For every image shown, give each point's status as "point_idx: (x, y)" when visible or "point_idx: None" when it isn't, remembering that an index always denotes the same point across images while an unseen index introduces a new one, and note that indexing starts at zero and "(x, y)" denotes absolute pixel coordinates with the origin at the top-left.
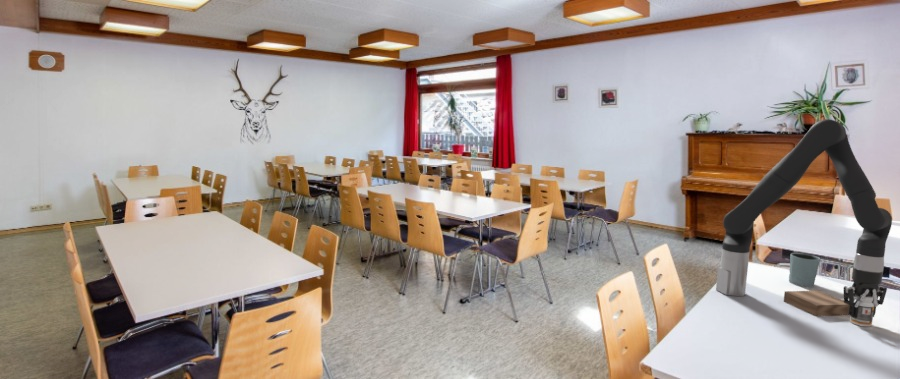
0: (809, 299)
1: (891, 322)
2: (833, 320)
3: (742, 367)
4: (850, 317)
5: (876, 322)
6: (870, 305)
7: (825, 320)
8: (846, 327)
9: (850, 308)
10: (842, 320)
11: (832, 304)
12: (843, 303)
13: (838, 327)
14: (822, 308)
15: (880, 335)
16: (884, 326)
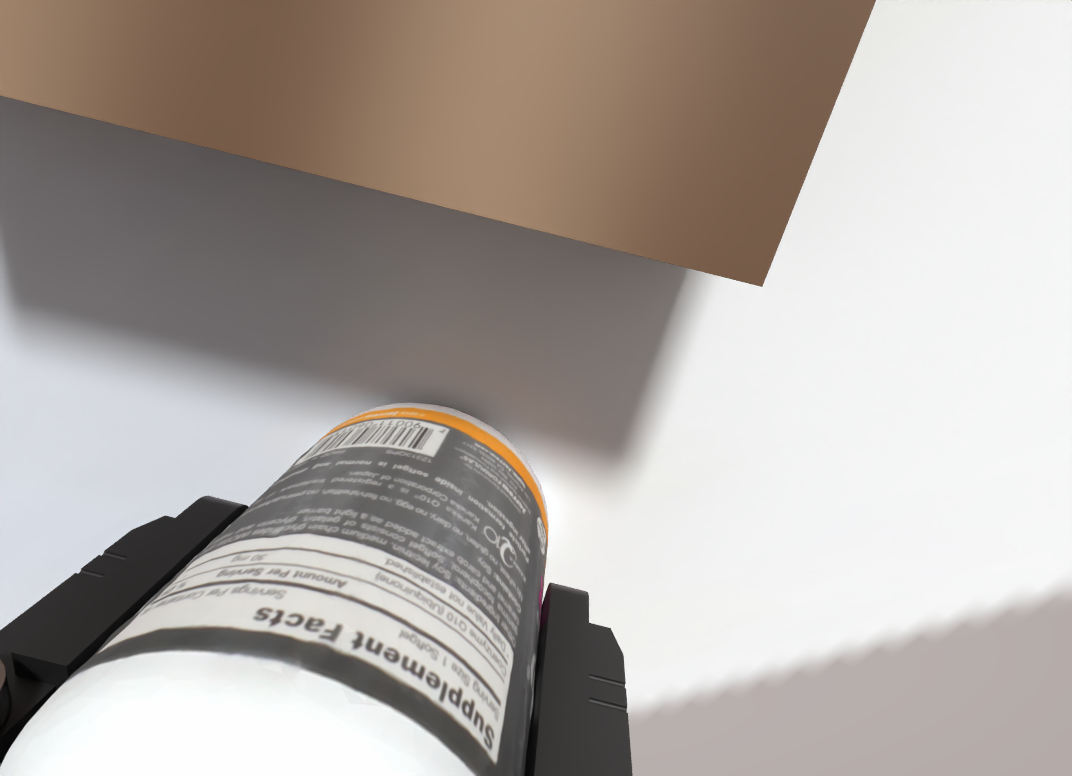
0: None
1: (926, 620)
2: (146, 297)
3: None
4: (298, 459)
5: (715, 551)
6: None
7: (16, 255)
8: (124, 504)
9: (32, 632)
10: (290, 344)
11: (113, 93)
12: (540, 144)
13: (18, 471)
14: None
15: None
16: (649, 645)
